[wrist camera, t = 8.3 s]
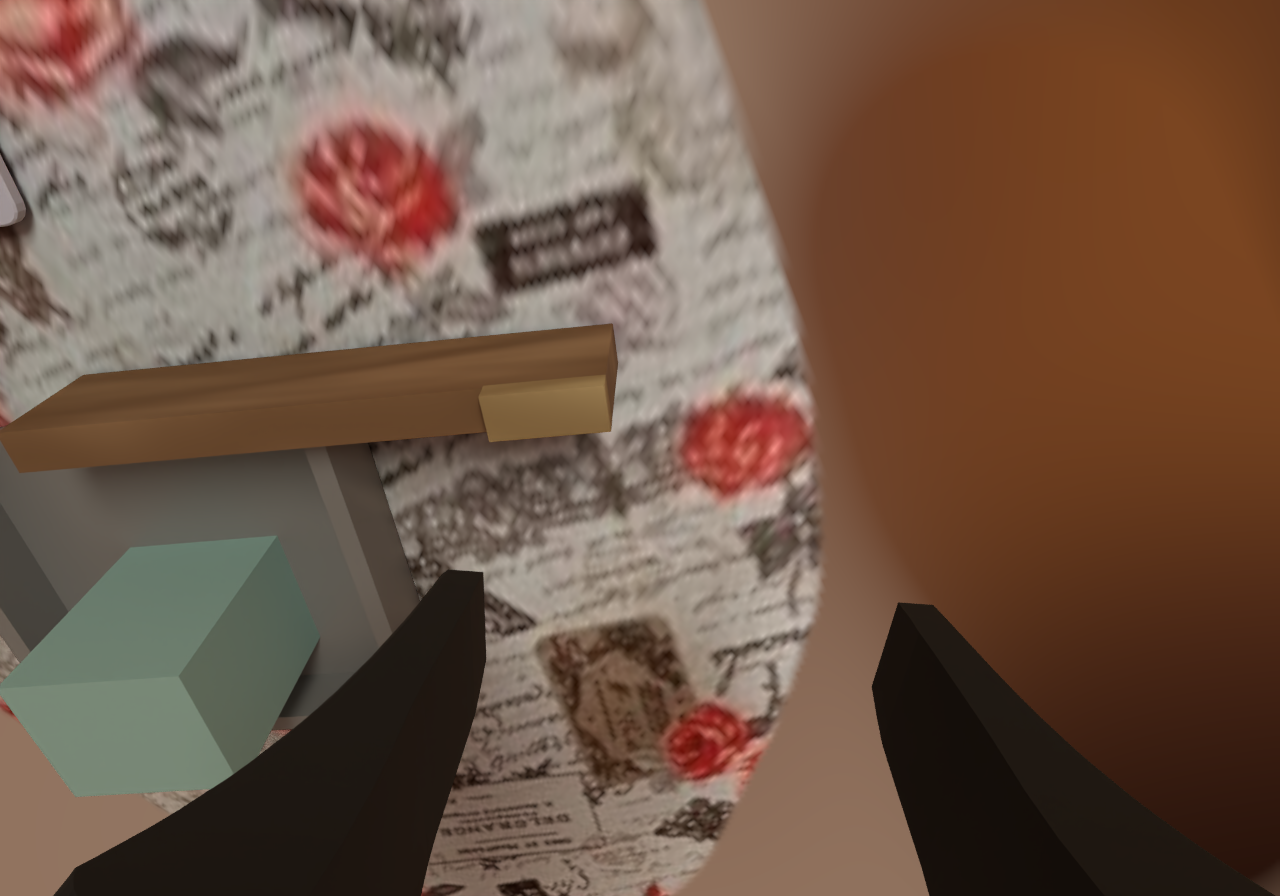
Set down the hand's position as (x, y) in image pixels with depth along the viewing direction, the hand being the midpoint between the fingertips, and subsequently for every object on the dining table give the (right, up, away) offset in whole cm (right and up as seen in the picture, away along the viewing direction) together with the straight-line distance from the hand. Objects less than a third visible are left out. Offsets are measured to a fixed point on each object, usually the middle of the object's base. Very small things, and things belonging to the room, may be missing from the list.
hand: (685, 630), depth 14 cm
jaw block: (-15, -2, +13) cm, 20 cm away
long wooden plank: (-9, +5, +9) cm, 14 cm away
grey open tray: (-15, -1, +13) cm, 20 cm away
